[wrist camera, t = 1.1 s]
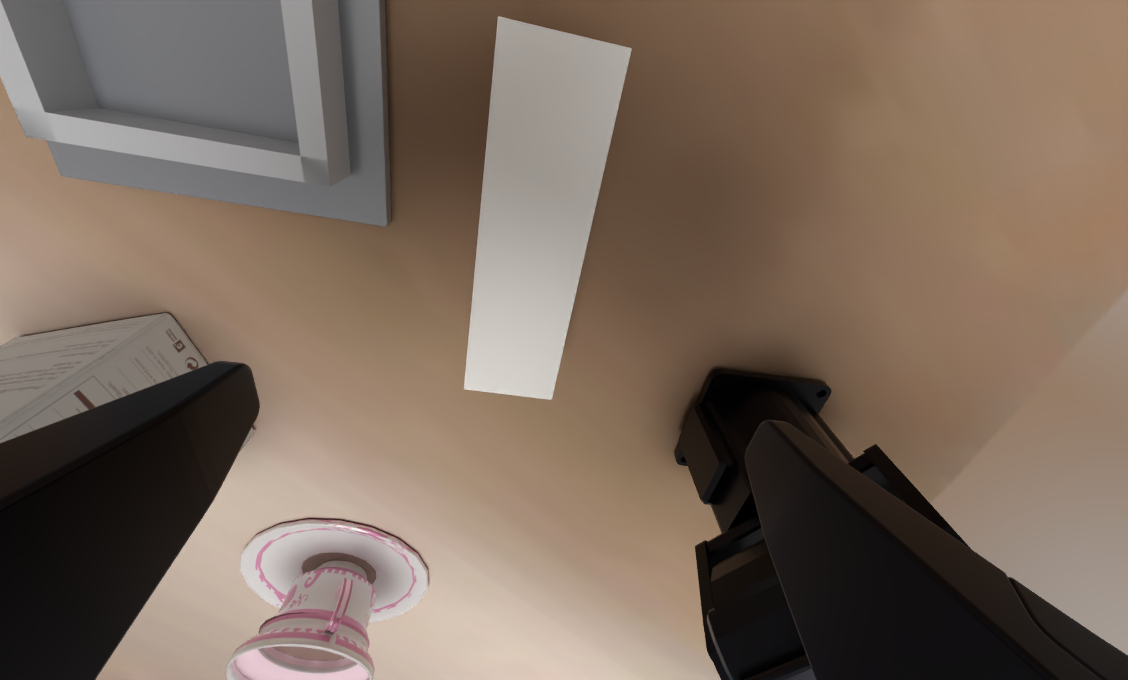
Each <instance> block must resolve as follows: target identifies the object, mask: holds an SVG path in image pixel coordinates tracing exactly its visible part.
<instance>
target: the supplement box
mask: <svg viewBox="0 0 1128 680" xmlns="http://www.w3.org/2000/svg"><path fill="white" fill-rule="evenodd" d="M206 365H208V364H207V363H206V361H205V360H204V358H203V357H202V356H201V354H200V353H199V352H198V350H197V349H196V348H195V346H194V345H193V343H192V342H191V341H190V339H189V338H188V337H187V335H186V334H185V333H184V331H183V330H182V329H181V327H180V326H179V325H178V323H177V322H176V321H175V319H174V318H173V317H172V316H171V315H170V314H168V313H163V314H157V315H150V316H143V317H137V318H130V319H124V320H118V321H112V322H106V323H100V324H95V325H89V326H83V327H77V328H71V329H65V330H59V331H53V332H47V333H41V334H35V335H29V336H24V337H17V338H14V339H12V340H10V341H9V342H7V343H5V344H3V345H1V346H0V443H2V442H4V441H7V440H10V439H12V438H15V437H18V436H20V435H23V434H26V433H28V432H31V431H34V430H36V429H39V428H42V427H44V426H47V425H49V424H52V423H55V422H57V421H60V420H63V419H65V418H68V417H71V416H73V415H76V414H79V413H81V412H84V411H87V410H89V409H92V408H94V407H97V406H100V405H102V404H105V403H108V402H110V401H113V400H116V399H118V398H121V397H124V396H126V395H129V394H132V393H134V392H137V391H139V390H142V389H145V388H147V387H150V386H153V385H155V384H158V383H161V382H163V381H166V380H169V379H171V378H174V377H177V376H179V375H182V374H184V373H187V372H190V371H192V370H195V369H198V368H200V367H203V366H206ZM253 434H254V430H253V429H252V428H251V430H250V432H249V434H248V436H247V438H246V440H245V442H244V443H243V445H242V447H241V449H242V448H243V447H244V446H245V444H246V443H247V442H248V440H249V439H250V438H251V436H252V435H253ZM241 449H240V450H241ZM239 452H240V451H239Z"/></svg>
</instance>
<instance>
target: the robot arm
mask: <svg viewBox="0 0 1128 680" xmlns="http://www.w3.org/2000/svg"><path fill="white" fill-rule="evenodd" d="M722 377H723V378H722ZM718 378H722V379H721V380H719V381H716V380H717V379H718ZM820 390H821V391H820ZM818 391H820V392H818ZM830 394H831V389H830V387H829V386H828V385H827V384H826V383H825V382H822V381H815V380H807V379H799V378H791V377H783V376H776V375H768V374H760V373H752V372H744V371H736V370H728V369H716V370H714V371H712V372H711V373H710V374H709V376H708V378H707V381H706V383H705V385H704V387H703V390H702V392H701V394H700V397H699V399H698V401H697V403H696V404H695V405H694V406H693V408H692V410H691V412H690V414H689V417H688V419H687V421H686V424H685V426H684V428H683V431H682V433H681V435H680V437H679V445H678V447H677V449H676V451H675V455H674V456H675V459H676V462H677V463H678V464H679V465H683V466H688V468H689V470H690V473H691V476H692V478H693V481H694V484H695V486H696V489H697V492H698V494H699V497H700V499H701V501H702V502H703V503H704V504H708V505H711V507H712V510H713V512H714V515H715V517H716V520H717V522H718V525H719V528H720V530H721V533H722V534H720V535H718V536H717V537H715V538H713V539H711V540H710V541H706V540H705V541H703V542H702V543H700V544H698V545H696V546H695V551H696V560H697V570H698V579H699V588H700V597H701V607H702V616H703V625H704V632H705V639H706V647H707V651H708V654H709V656H710V658H711V659H712V661H713V662H714V665H715V667H716V670H717V672H718V674H719V676H720V678H721V680H1128V655H1126V654H1125V653H1123V652H1122V651H1120V650H1118V649H1117V648H1115V647H1114V646H1112V645H1111V644H1109V643H1107V642H1106V641H1105V640H1103V639H1101V638H1100V637H1098V636H1097V635H1095V634H1094V633H1092V632H1091V631H1090V630H1088V629H1086V628H1085V627H1084V626H1082V625H1081V624H1079V623H1078V622H1076V621H1075V620H1073V619H1072V618H1070V617H1069V616H1067V615H1066V614H1064V613H1063V612H1061V611H1060V610H1058V609H1057V608H1055V607H1054V606H1053V605H1051V604H1050V603H1048V602H1047V601H1045V600H1044V599H1042V598H1041V597H1039V596H1038V595H1037V594H1035V593H1034V592H1032V591H1031V590H1029V589H1028V588H1026V587H1025V586H1023V585H1022V584H1021V583H1019V582H1018V581H1016V580H1015V579H1013V578H1010V577H1007V575H1006V574H1005V573H1004V572H1003V571H1002V570H1000V569H999V568H997V567H996V566H994V565H993V564H992V563H990V562H988V561H987V560H986V559H984V558H983V557H981V556H980V555H978V554H977V553H975V552H974V551H973V550H971V548H970V547H969V546H968V545H967V544H966V543H965V542H964V541H963V540H962V538H961V537H960V536H959V535H958V534H957V533H956V532H955V531H954V530H953V529H952V527H951V526H950V525H949V524H948V523H947V522H946V521H945V520H944V518H943V517H942V516H941V515H940V514H939V513H938V512H937V511H936V510H935V509H934V507H933V506H932V505H931V504H930V503H929V502H928V501H927V500H926V499H925V498H924V496H923V495H922V494H921V493H920V492H919V491H918V490H917V489H916V488H915V487H914V485H913V484H912V483H911V482H910V481H909V480H908V479H907V478H906V477H905V475H904V474H903V473H902V472H901V471H900V470H899V469H898V468H897V467H896V466H895V464H894V463H893V462H892V461H891V460H890V459H889V458H888V457H887V456H886V455H885V453H884V452H883V451H882V450H881V449H880V448H879V447H878V446H877V445H876V444H875V445H873V446H871V447H870V448H868V449H866V450H864V451H863V452H864V454H863V455H861V456H859V457H857V458H855V459H854V458H853V456H852V455H851V454H850V453H849V451H848V450H847V449H846V448H845V447H844V445H843V444H842V443H841V442H840V440H839V439H838V438H837V437H836V435H835V434H834V433H833V432H832V431H831V429H830V428H829V427H828V426H827V424H826V423H825V422H824V421H823V419H822V418H821V417H820V416H819V414H818V413H819V412H820V410H821V409H822V407H823V405H824V404H825V402H826V401H827V399H828V398H829V396H830ZM259 408H260V403H259V398H258V394H257V390H256V386H255V382H254V378H253V374H252V371H251V369H250V367H249V366H248V365H246V364H244V363H236V362H227V361H217V362H214V363H211V364H208V365H206V366H203V367H200V368H198V369H195V370H192V371H190V372H187V373H184V374H182V375H179V376H177V377H174V378H171V379H169V380H166V381H163V382H161V383H158V384H155V385H153V386H150V387H147V388H145V389H142V390H139V391H137V392H134V393H132V394H129V395H126V396H124V397H121V398H118V399H116V400H113V401H110V402H108V403H105V404H102V405H100V406H97V407H94V408H92V409H89V410H87V411H84V412H81V413H79V414H76V415H73V416H71V417H68V418H65V419H63V420H60V421H57V422H55V423H52V424H49V425H47V426H44V427H42V428H39V429H36V430H34V431H31V432H28V433H26V434H23V435H20V436H18V437H15V438H12V439H10V440H7V441H4V442H2V443H0V680H95V679H96V678H97V676H98V675H99V673H100V672H101V670H102V669H103V667H104V666H105V664H106V663H107V661H108V660H109V658H110V657H111V655H112V654H113V652H114V651H115V649H116V647H117V646H118V644H119V643H120V641H121V640H122V638H123V637H124V635H125V634H126V632H127V631H128V629H129V628H130V626H131V625H132V623H133V622H134V620H135V619H136V617H137V616H138V614H139V613H140V611H141V610H142V608H143V607H144V605H145V604H146V602H147V601H148V599H149V598H150V596H151V595H152V593H153V592H154V590H155V589H156V587H157V586H158V584H159V583H160V581H161V580H162V578H163V576H164V575H165V573H166V572H167V570H168V569H169V567H170V566H171V564H172V563H173V561H174V560H175V558H176V557H177V555H178V554H179V552H180V551H181V549H182V548H183V546H184V545H185V543H186V542H187V540H188V539H189V537H190V536H191V534H192V533H193V531H194V530H195V528H196V527H197V525H198V524H199V522H200V521H201V519H202V518H203V516H204V515H205V513H206V511H207V510H208V508H209V507H210V505H211V503H212V502H213V500H214V498H215V497H216V495H217V493H218V491H219V490H220V488H221V486H222V484H223V482H224V480H225V478H226V476H227V474H228V472H229V470H230V469H231V467H232V465H233V463H234V461H235V459H236V457H237V455H238V453H239V451H240V449H241V447H242V445H243V443H244V442H245V440H246V438H247V436H248V434H249V432H250V430H251V428H252V426H253V424H254V422H255V420H256V418H257V416H258V413H259Z"/></svg>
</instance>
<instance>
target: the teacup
mask: <svg viewBox="0 0 1128 680" xmlns="http://www.w3.org/2000/svg"><path fill="white" fill-rule="evenodd" d="M327 552H330V553H344V554H349V555H353V556H355V557H358V558H360V559H363V560H364V561H366V562H367V563H369V564H370V565H371V566H372V567H373V569H374V570H375V573H376V578H375V581H374V583H372V584H371V583H370V582H368V581H367V575H366V572H365V571H364V569H363V568H361V567H360V566H358V565H356V564H354V563H351V562H347V561H340V560H335V561H328V562H325V563H323V564H321V565H320V566H319V567H318V568H317V569H315V570H313V571H309V572H306V573H303V571H302V567H303V563H304V562H305V561H306V560H307V559H308V558H309V557H311V556H314V555H316V554H321V553H327ZM240 571H241V573H242V575H243V577H244V580H245V582H246V584H247V585H248V586H249V587H250V588H251V589H252V590H253V591H254V592H255V593H256V594H257V595H259V596H260V597H261V598H262V599H263V600H264V601H266V602H268V603H270V604H272V605H274V606H276V607H277V608H279V609H280V610H279V612H278V613H277V615H276V616H275V617H273V618H270V619H268V620H266V621H265V622H264V623H263V624H262V625H261V626H260V629H259V634H258V635H256V636H254V637H252V638H251V639H249V640H247V641H246V642H245V643H243V644H242V645H241V646H240V647H238V648H237V649H236V650H235V652H234V653H233V654H232V656H231V657H230V659H229V661H228V664H227V667H226V675H227V678H228V680H373V677H374V665H373V661H372V658H371V656H370V655H369V653H368V652H367V651H368V648H369V639H368V634H367V626H368V623H370V622H377V621H383V620H387V619H390V618H393V617H395V616H398V615H401V614H403V613H406V612H407V611H409V610H410V609H411V608H413V607H414V606H415V605H417V604H418V603H419V602H421V600H422V598H423V596H424V594H425V592H426V591H427V589H428V585H429V582H428V569H427V567H426V566H425V564H424V563H423V561H422V560H421V558H420V557H419V555H418V554H417V553H416V552H415V551H414V550H412V549H411V548H410V547H408V546H407V545H406V544H405V543H403V542H402V541H401V540H399V539H398V538H395V537H393V536H391V535H388V534H386V533H384V532H382V531H379V530H377V529H375V528H372V527H368V526H364V525H359V524H355V523H350V522H346V521H341V520H315V519H307V520H301V521H295V522H289V523H283V524H278V525H276V526H274V527H272V528H270V529H268V530H266V531H263V532H261V533H259V534H257V535H256V536H255V537H254V538H253V539H252V541H251V542H250V543H249V544H248V545H247V546H246V547H245V548H244V550H243V552H242V554H241V561H240Z"/></svg>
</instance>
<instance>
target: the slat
mask: <svg viewBox="0 0 1128 680" xmlns="http://www.w3.org/2000/svg"><path fill="white" fill-rule="evenodd" d="M631 50H632V48H628V47H624V46H620V45H616V44H612V43H607V42H603V41H599V40H595V39H591V38H587V37H582V36H578V35H574V34H570V33H566V32H562V31H557V30H553V29H549V28H545V27H541V26H537V25H533V24H528V23H524V22H520V21H516V20H512V19H508V18H503V17H499V16H498V22H497V33H496V44H495V54H494V65H493V76H492V87H491V98H490V109H489V120H488V131H487V142H486V153H485V164H484V175H483V186H482V197H481V208H480V219H479V230H478V241H477V252H476V263H475V274H474V285H473V296H472V307H471V318H470V329H469V340H468V350H467V361H466V372H465V383H464V389H466V390H475V391H483V392H491V393H499V394H508V395H516V396H524V397H532V398H541V399H549V400H552V396H553V392H554V387H555V383H556V379H557V374H558V370H559V365H560V361H561V357H562V352H563V348H564V344H565V339H566V335H567V330H568V326H569V322H570V317H571V313H572V309H573V304H574V300H575V295H576V291H577V287H578V282H579V278H580V273H581V269H582V265H583V260H584V256H585V252H586V247H587V243H588V238H589V234H590V230H591V225H592V221H593V216H594V212H595V208H596V203H597V199H598V195H599V190H600V186H601V181H602V177H603V173H604V168H605V164H606V159H607V155H608V151H609V146H610V142H611V138H612V133H613V129H614V124H615V120H616V116H617V111H618V107H619V102H620V98H621V94H622V89H623V85H624V81H625V76H626V72H627V67H628V63H629V59H630V54H631Z"/></svg>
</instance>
